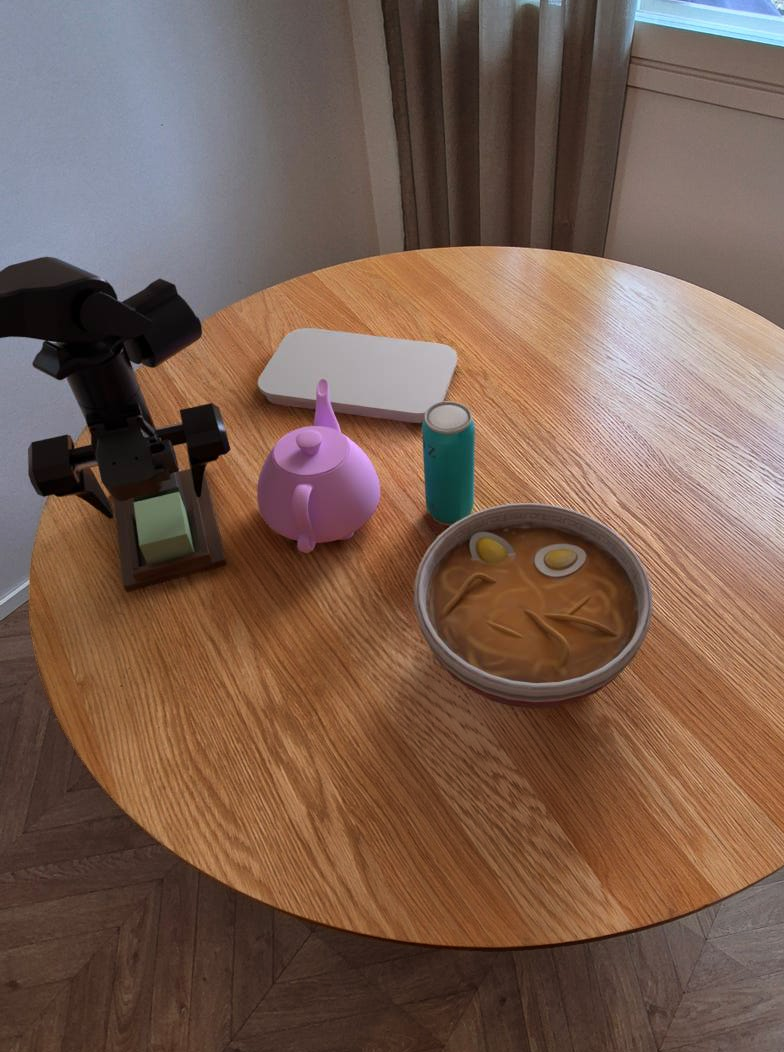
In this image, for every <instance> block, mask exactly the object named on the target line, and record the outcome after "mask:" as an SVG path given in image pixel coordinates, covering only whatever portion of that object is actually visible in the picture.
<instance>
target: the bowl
mask: <svg viewBox="0 0 784 1052" xmlns="http://www.w3.org/2000/svg"><path fill="white" fill-rule="evenodd" d="M641 561H642V560H641V559H640V557H639V556H638V555H637V553H636V552H635V551H634V550H633V548H632V547H631V546H630V545H629V544H628V543H627V542H626V540H624V539H623V538H622V537H621V536H620V535H619V534H617V533H616V532H615V530H613V529H611V528H610V527H609V526H607V525H605V524H604V523H601V522H600V521H598V520H596V519H595V518H594V517H591V516H589V515H586V514H584V513H582V512H579V511H576V510H574V509H571V508H567V507H562V506H558V505H554V504H548V503H547V504H546V503H538V502H522V503H520V502H519V503H507V504H501V505H496V506H491V507H487V508H485V509H481V510H478V511H476V512H474V513H470V514H469V516H467V517H465V518H463V519H461V520H460V521H458V522H456V523H454V524H453V525H451V526H448V528H446V529H445V530H444V531H442V532H441V533H440V534H439V535H438V536H437V537H436V538H435V539H434V541H433V542H432V543H431V544H430V546H429V547H428V548H427V549H426V551H425V553H424V554H423V557H422V559H421V560H420V563H419V565H418V566H417V570H416V575H415V579H414V584H413V603H414V605H413V606H414V609H415V613H416V617H417V620H418V623H419V624H418V625H419V627H420V631H421V635H422V636H423V638H424V641H425V642H426V644H427V645H428V648H429V650H430V651H431V653H432V654H433V656H434V657H435V659H436V660H437V661H438V663H439V664H440V665H441V666H442V667H443V668H444V670H445V671H446V672H447V673H448V674H449V675H450V676H451V677H452V678H453V679H454V680H455V681H457V682H458V683H459V684H461V685H462V686H463V687H464V688H466V689H467V690H469V691H471V692H473V693H474V694H477V695H479V696H481V697H482V698H485V699H487V700H488V701H491V702H494V703H497V704H501V705H505V706H507V707H511V708H518V709H529V710H538V709H552V708H556V707H561V706H564V705H569V704H572V703H578V702H579V701H582V700H584V699H586V698H588V697H590V696H592V695H594V694H596V693H598V692H599V691H601V690H602V689H604V688H605V687H606V686H607V685H609V684H611V683H612V682H613V681H614V680H615V679H616V678H618V676H619V675H620V674H622V672H623V671H624V670H625V669H626V668H627V667H628V666H629V665H630V663H631V662H632V661H633V660H634V659H635V657H636V656H637V653H638V652H639V649H640V647H641V646H642V644H643V642H644V640H645V638H646V636H647V634H648V632H649V628H650V624H651V621H652V617H653V612H654V611H653V609H654V608H653V589H652V586H651V582H650V578H649V575H648V572H647V569H646V568H645V567H644V565H643V563H642V562H641Z"/></svg>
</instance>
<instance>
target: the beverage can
mask: <svg viewBox="0 0 784 1052" xmlns="http://www.w3.org/2000/svg"><path fill="white" fill-rule="evenodd" d="M475 427H476V425H475V422H474V420H473V414H472V411H471V410H470V408H469V407H468V406H466V405H465V404H464V403H461V402H457V401H450V400H447V401H445V400H444V401H443V402H439V403H436V404H434V405H432V406H430V407H429V408H428V409H427V410H426V412H425V415H424V422H423V423H421V437H422V452H423V453H422V456H423V476H424V495H425V496H424V497H425V506H426V509H427V511H428V514H429V515H430V517H431V518H432V519H433V521H435V522H436V523H438V524H439V525H442V526H447V527H450V526H451V525H453V524H454V523H456V522H458V521H460V520H461V519H463V518H465V517H467V516H469V515H470V514H471V512H472V510H473V509H474V506H475V505H474V504H475V449H476V448H475V445H476V444H475V437H476V435H475V434H476V430H475V429H476V428H475Z"/></svg>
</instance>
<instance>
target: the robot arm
mask: <svg viewBox="0 0 784 1052" xmlns="http://www.w3.org/2000/svg"><path fill="white" fill-rule="evenodd" d="M118 299H119V298H118V295H117V293H116V291H115V289H114V287H113V285H111V283H110V282H109V281H108V280H107V279H105V278H103V277H101V276H98V275H97V274H94V273H92V272H89V271H87V270H85V269H82V268H80V267H78V266H77V265H73V264H72V263H69V262H66V261H64V260H62V259H61V258H60V259H59V258H58V257H54V256H41V257H37V258H33V259H29V260H26V261H22V262H18V263H14V264H10V265H8V266H6V267H4V268H3V269H2V270H0V339H5V338H27V339H33V340H39V341H42V344H41V345H42V346H41V349H40V350H39V352H37V353H36V355H35V356H34V359H33V361H32V367H33V368H34V369H36V370H37V371H39V372H42V373H44V374H46V375H47V376H49V377H51V378H53V379H55V380H57V381H63V380H65V379H66V381H67V383H68V385H69V386H70V387H69V388H70V389H71V392H72V393H73V396H74V398H75V401H76V403H77V405H78V408H79V409H80V411H81V414H82V416H83V418H84V420H85V424H86V426H87V429H88V431H89V433H90V444H88V445H82V446H79V447H75V442H74V440H73V438H72V436H71V435H70V434H62V435H59V436H58V435H57V436H54V437H50V438H45V439H40V440H35V441H32V442H30V444H29V446H28V449H27V467H28V468H27V469H28V471H27V472H28V478H29V482H30V484H31V486H32V487H33V489H34V491H35V493H36V494H37V495H38V496H40V497H42V498H45V497H49V496H53V495H54V496H55V497H57V498H63V497H69V496H76V497H78V498H79V499H81V500H83V501H84V502H86V503H88V505H90V506H91V507H93V508H94V509H95V510H97V511H98V512H99V513H101V514H102V515H104V517H106V518H108V519H109V520H113V519H114V518H115V515H114V511H113V508H112V506H111V503H110V500H109V498H108V497H107V495H106V493H105V491H104V489H103V487H102V486H101V485H100V482H101V483H102V484H103V486H104V488H105V489H106V491H107V492H108V494H109V496H110V497H111V498H112V499H113V501H114V500H116V501H126V500H128V499H130V498H134V497H138V496H142V495H146V494H149V495H151V494H154V493H157V492H159V491H160V490H161V488H162V486H163V482H162V481H166V480H170V479H171V477H170V475H171V474H172V473H175V472H178V471H180V467H179V462H178V459H177V454H176V451H175V448H174V447H175V446H179V445H184V444H185V446H186V452H187V453H186V454H187V458H188V464H189V465H188V466H189V469H190V471H191V476H192V481H193V486H194V491H195V493H196V496H197V497H201V492H202V483H203V475H204V471H206V467H207V465H208V464H210V463H212V462H215V461H218V459H219V458H220V456H224V455H227V454H228V453H229V452H230V451H231V450H232V449H231V445H230V441H229V438H228V434H227V429H226V427H225V423H224V418H223V415H222V412H221V409H220V406H218V405H216V404H215V403H213V402H210V403H206V404H201V405H196V406H192V407H187V408H182V409H179V415H180V419H181V422H178V423H173V424H168V425H163V426H159V427H156V426H155V422H154V420H153V417H152V415H151V412H150V409H149V407H148V404H147V401H146V399H145V397H144V394H143V390H142V389H141V386H140V383H139V381H138V377H137V376H136V373H135V370H134V367H133V365H132V363H133V364H135V365H141V364H142V365H143V366H145V367H147V368H151V369H153V368H154V369H155V368H157V367H158V366H160V365H161V364H164V362H166V361H168V360H169V359H171V358H172V357H174V356H176V355H177V354H179V353H180V352H182V351H183V350H185V349H187V348H188V347H189V346H191V345H193V344H194V343H196V342H198V341H199V340H200V339H201V337H202V335H203V328H202V323H201V319H200V318H199V317H198V316H197V315H196V314H195V312H194V310H193V309H192V307H191V305H190V304H189V303H188V302H187V300H185V298H183V297H182V296H181V295H180V294H179V293H178V289H177V285H176V284H175V283H172V282H170V281H168V280H165V279H163V278H157V279H156V280H154V281H152V282H150V283H149V284H148V285H147V286H146V287H145V288H144V289H142V290H140V291H138V292H137V293H135V294H133V295H132V296H131V295H130V296H129V297H127V298H126V299H124V300H122V301H120V300H118ZM95 467H98V473H99V477H100V480H101V481H100V482H99V480H98V479H97V477H96V475H95V473H94V472H93V470H92V468H95Z"/></svg>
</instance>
